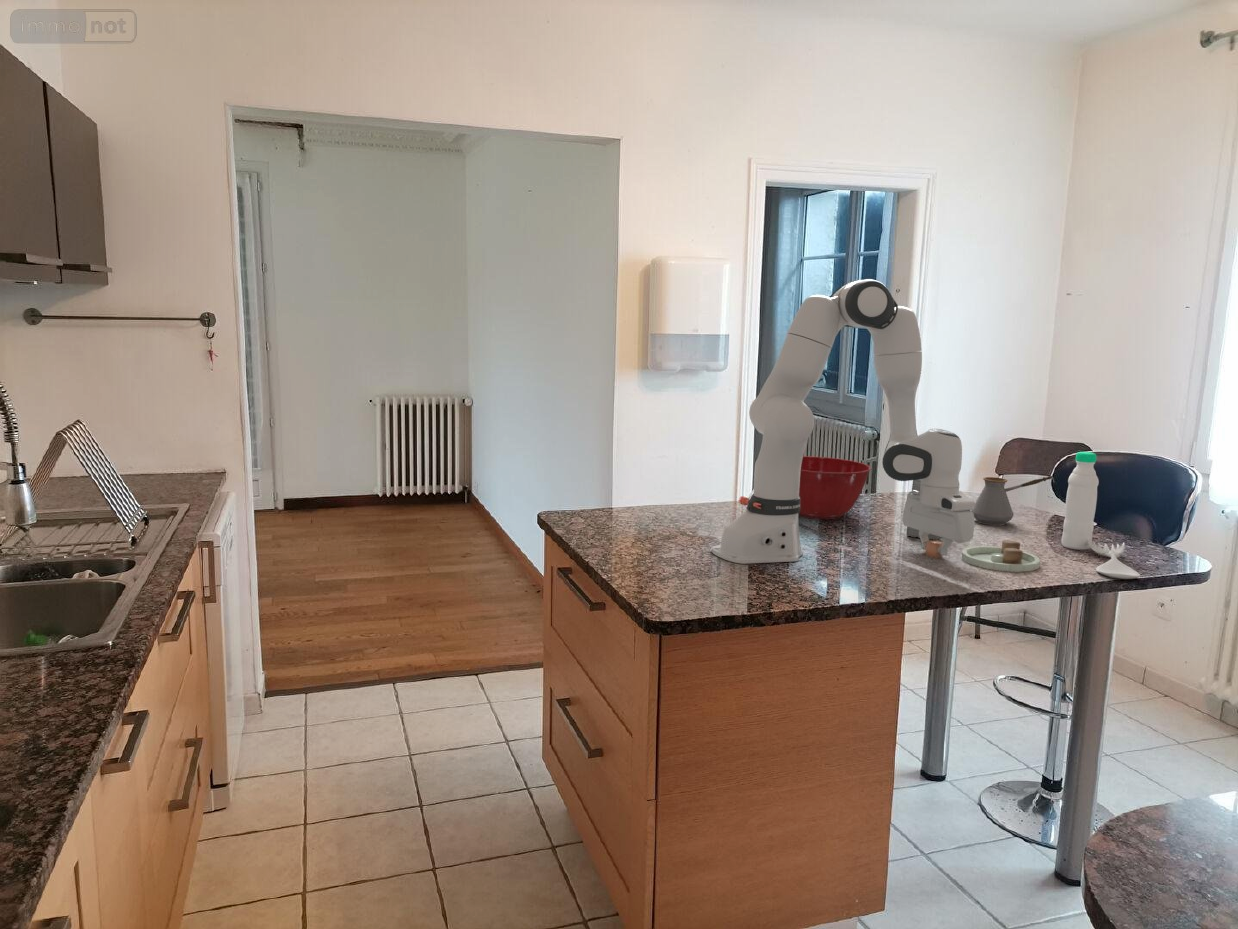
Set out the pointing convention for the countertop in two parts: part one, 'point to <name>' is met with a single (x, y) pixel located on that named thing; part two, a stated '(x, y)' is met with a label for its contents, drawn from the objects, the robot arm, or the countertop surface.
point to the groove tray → (997, 559)
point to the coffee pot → (997, 501)
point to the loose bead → (933, 548)
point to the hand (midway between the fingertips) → (934, 552)
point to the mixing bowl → (830, 486)
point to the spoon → (1113, 562)
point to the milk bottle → (1080, 503)
